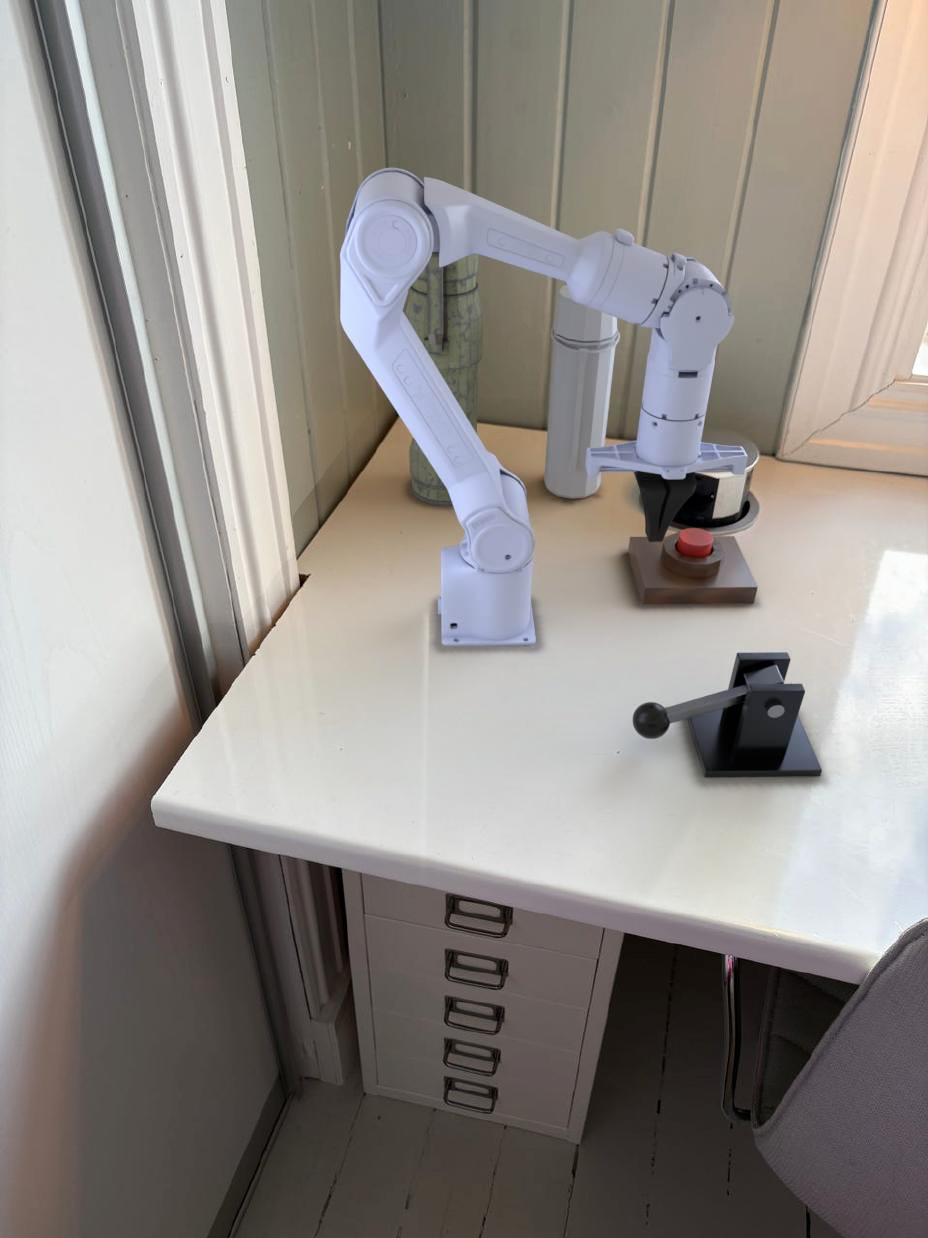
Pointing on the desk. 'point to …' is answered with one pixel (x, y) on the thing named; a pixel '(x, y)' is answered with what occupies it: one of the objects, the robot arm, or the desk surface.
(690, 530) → the button
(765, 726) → the bracket
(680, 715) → the lever
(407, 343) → the robot arm
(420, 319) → the thermos
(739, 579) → the control block
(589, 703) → the desk surface
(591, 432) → the water bottle
